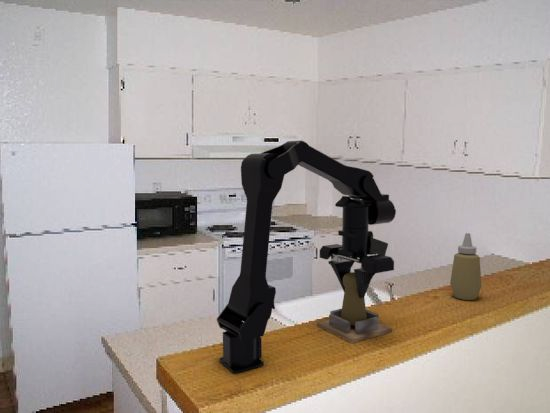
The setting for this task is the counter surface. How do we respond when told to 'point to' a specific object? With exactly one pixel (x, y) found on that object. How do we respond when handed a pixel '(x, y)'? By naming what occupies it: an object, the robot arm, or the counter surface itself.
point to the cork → (352, 301)
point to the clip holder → (354, 326)
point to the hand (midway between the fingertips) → (354, 295)
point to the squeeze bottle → (466, 271)
